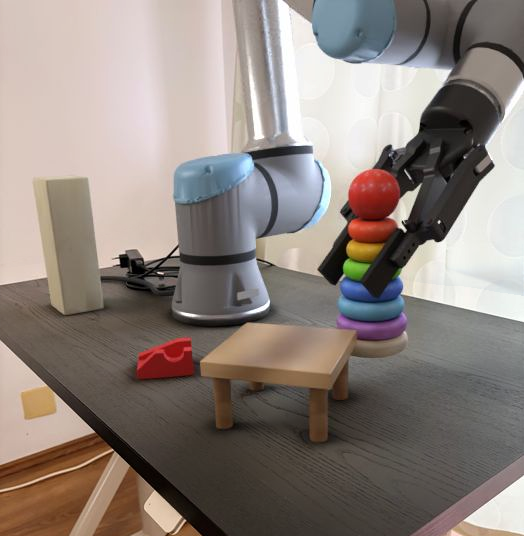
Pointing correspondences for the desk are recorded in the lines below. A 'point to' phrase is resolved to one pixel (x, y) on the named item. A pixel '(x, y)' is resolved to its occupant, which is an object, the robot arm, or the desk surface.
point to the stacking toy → (361, 256)
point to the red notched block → (166, 360)
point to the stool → (282, 366)
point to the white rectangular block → (68, 243)
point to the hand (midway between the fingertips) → (346, 283)
